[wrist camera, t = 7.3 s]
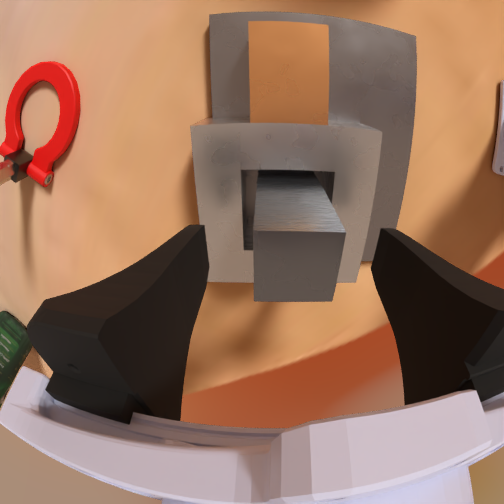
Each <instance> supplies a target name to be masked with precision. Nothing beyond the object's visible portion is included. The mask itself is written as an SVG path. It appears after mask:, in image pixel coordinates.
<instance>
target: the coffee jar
mask: <svg viewBox="0 0 504 504" xmlns="http://www.w3.org/2000/svg"><path fill="white" fill-rule="evenodd" d="M32 346H33V345H32V343H31V342H30V339H29V337H28V334H27V330H26V329H25V327H24V325H23V324H22V323H21V322H20V321H19V320H18V319H16V318H15V317H13V316H11V315H10V314H9V313H7V312H6V311H2V312H0V407H1V405H2V403H3V401H4V399H5V397H6V395H7V392H8V391H9V388H10V386H11V384H12V382H13V380H14V378H15V377H16V374H17V373H18V371H19V369H20V367H21V366H22V364H23V362H24V360H25V359H26V357H27V355H28V353H29V352H30V350H31V348H32Z"/></svg>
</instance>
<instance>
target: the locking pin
mask: <svg viewBox="0 0 504 504" xmlns="http://www.w3.org/2000/svg"><path fill="white" fill-rule="evenodd" d="M345 237H346V231H345V229H344V227H343V225H342V223H341V221H340V219H339V217H338V215H337V213H336V211H335V209H334V208H333V206H332V204H331V202H330V200H329V198H328V196H327V195H326V193H325V191H324V189H323V187H322V185H321V184H320V182H319V180H318V178H317V177H316V175H315V173H314V171H309V170H259V169H258V178H257V190H256V202H255V214H254V225H253V266H254V301H266V302H322V301H332V300H333V296H334V292H335V287H336V283H337V278H338V273H339V268H340V263H341V258H342V253H343V248H344V242H345Z"/></svg>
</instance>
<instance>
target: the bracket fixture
mask: <svg viewBox="0 0 504 504" xmlns="http://www.w3.org/2000/svg"><path fill="white" fill-rule="evenodd" d="M209 24H210V68H211V95H212V118H206V119H204V120H202V121H200V122H197V123H195V124H193V125H191V126H190V128H191V141H192V153H193V165H194V175H195V186H196V195H197V204H198V213H199V222H200V225H205V233H206V242H207V250H208V258H209V266H210V268H209V274H208V280H207V282H240V283H254V266H253V225H254V214H255V202H256V190H257V178H258V169H259V170H309V171H314V173H315V175H316V177H317V178H318V180H319V182H320V184H321V185H322V187H323V189H324V191H325V193H326V195H327V196H328V198H329V200H330V202H331V204H332V206H333V208H334V209H335V211H336V213H337V215H338V217H339V219H340V221H341V223H342V225H343V227H344V229H345V231H346V237H345V242H344V248H343V253H342V258H341V263H340V268H339V273H338V278H337V283H354V282H356V280H357V276H358V272H359V268H360V264H361V261H373V258H374V254H375V250H376V246H377V242H378V238H379V233H380V229H381V228H394V229H396V227H397V222H398V218H399V214H400V209H401V204H402V200H403V195H404V189H405V184H406V178H407V172H408V166H409V160H410V152H411V145H412V136H413V127H414V116H415V102H416V76H417V55H416V36H413V35H410V34H407V33H404V32H401V31H397V30H394V29H390V28H387V27H383V26H379V25H375V24H370V23H366V22H361V21H356V20H351V19H345V18H339V17H332V16H325V15H316V14H306V13H292V12H236V13H222V14H212V15H209Z"/></svg>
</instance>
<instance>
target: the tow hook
mask: <svg viewBox="0 0 504 504" xmlns="http://www.w3.org/2000/svg"><path fill="white" fill-rule="evenodd" d="M42 80H44V81H47V82H49V83H51V84H52V85H53V86H54V87H55V89H56V91H57V93H58V97H59V101H60V116H59V122H58V125H57V129H56V131H55V133H54V135H53V137H52V139H51V140H50V141H49V142H48V143H47V144H46V145H45V146H43V147H40V148H37V149H36V150H35V152H34V156H32V155H31V154H29V153H28V152H26V151H25V150H24V149H21V147H22V143H23V139H24V136H23V133H22V130H21V126H20V110H21V106H22V103H23V100H24V98H25V96H26V94H27V92H28V91H29V90H30V88H31V87H32V86H34V85H35V84H36V83H38V82H40V81H42ZM79 115H80V93H79V89H78V84H77V81H76V79H75V78H74V76H73V74H72V72H71V71H70V70H69V69H68V68H67V67H66V66H65V65H63V64H60V63H57V62H51V61H50V62H40V63H38V64H36V65H34V66H31V67H30V68H29V69H28V70H27V71H26V72H24V73H23V74H22V76H21V77H20V78H19V80H18V81H17V82H16V84H15V86H14V88H13V90H12V92H11V94H10V97H9V100H8V104H7V108H6V117H5V124H6V138H5V141H4V142H3V143H2V145H1V146H0V155H2V156H3V157H4V161H3V162H1V163H0V185H2V184H4V183H5V182H7V181H9V180H13V181H14V182H15V183H16V182H18V181H20V180H22V179H23V178H25V177H27V176H30V177H31V178H32V179H34V180H35V181H36V182H38V183H39V184H41V185H42V186H43V187H47V186H48V185H49V184H50V182H51V181H52V179H53V176H54V173H53V171H51V169H52V166H53V162H54V161H55V160H57V159H58V158H59V157H60V156H61V155H62V154H63V153H64V152H65V151H66V150H67V148H68V146H69V145H70V143H71V141H72V140H73V137H74V134H75V132H76V129H77V126H78V121H79Z"/></svg>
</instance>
